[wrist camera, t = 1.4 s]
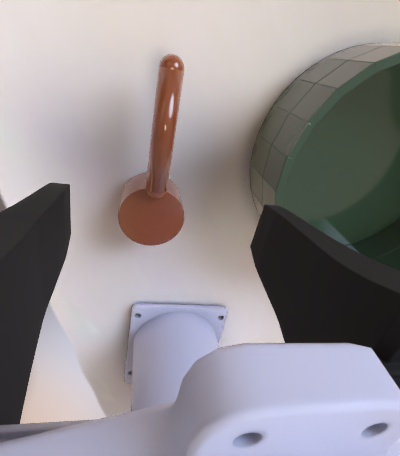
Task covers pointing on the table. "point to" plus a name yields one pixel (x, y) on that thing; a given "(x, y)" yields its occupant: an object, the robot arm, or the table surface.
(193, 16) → the table surface
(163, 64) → the brown toy plunger
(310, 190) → the tin
